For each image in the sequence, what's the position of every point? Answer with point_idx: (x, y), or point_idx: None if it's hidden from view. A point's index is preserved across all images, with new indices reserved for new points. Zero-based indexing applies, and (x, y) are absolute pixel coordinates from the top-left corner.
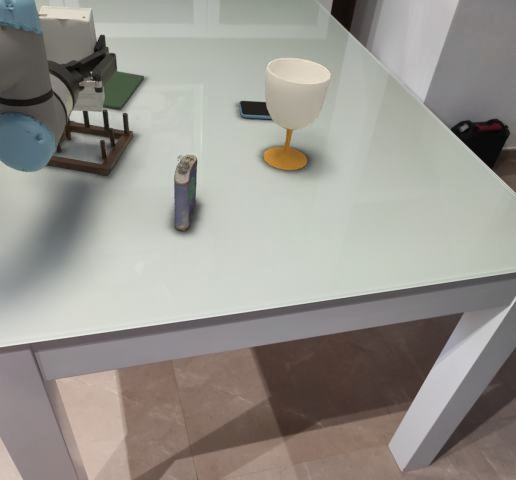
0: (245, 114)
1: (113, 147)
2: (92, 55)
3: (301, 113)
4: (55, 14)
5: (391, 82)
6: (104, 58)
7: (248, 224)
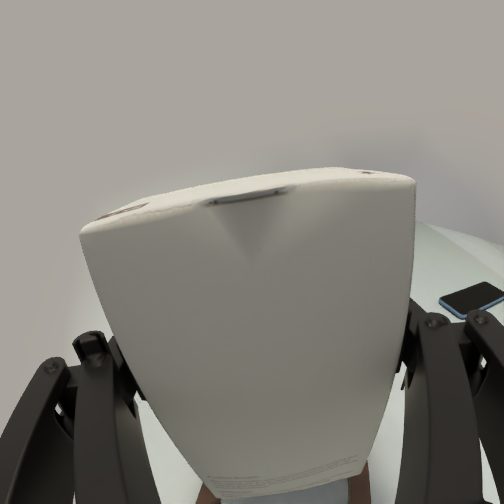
0: (465, 314)
1: (351, 487)
2: (439, 367)
3: None
4: (196, 191)
5: (490, 243)
6: (499, 358)
7: None
